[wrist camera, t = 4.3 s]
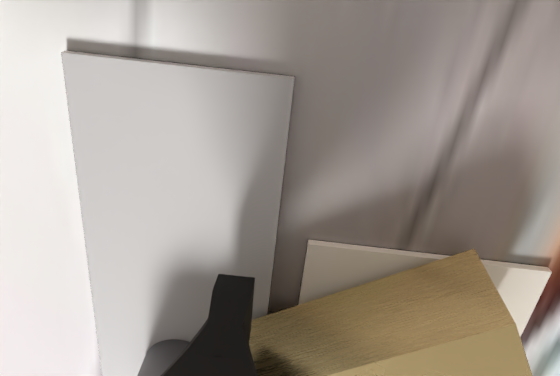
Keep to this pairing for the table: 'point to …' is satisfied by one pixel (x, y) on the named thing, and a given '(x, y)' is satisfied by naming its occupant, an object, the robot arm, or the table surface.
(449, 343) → the bar
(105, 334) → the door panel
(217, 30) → the table surface
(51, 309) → the table surface
